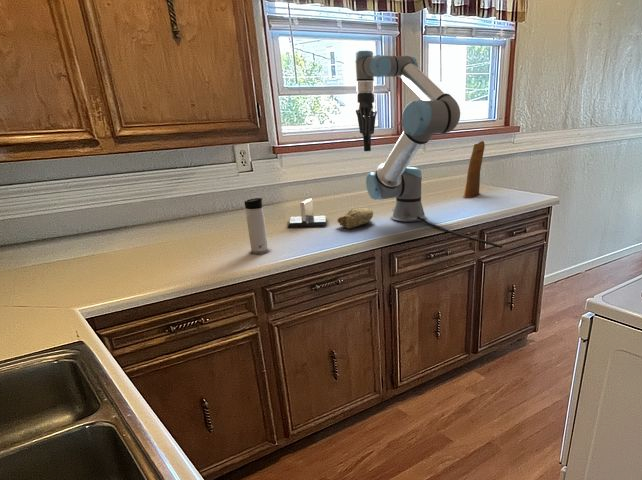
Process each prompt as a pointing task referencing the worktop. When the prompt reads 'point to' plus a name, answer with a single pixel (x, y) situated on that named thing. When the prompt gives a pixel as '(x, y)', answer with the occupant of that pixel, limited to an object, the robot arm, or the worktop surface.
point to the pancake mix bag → (474, 171)
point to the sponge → (355, 217)
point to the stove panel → (308, 222)
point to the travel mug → (256, 226)
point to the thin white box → (306, 210)
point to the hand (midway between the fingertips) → (367, 150)
